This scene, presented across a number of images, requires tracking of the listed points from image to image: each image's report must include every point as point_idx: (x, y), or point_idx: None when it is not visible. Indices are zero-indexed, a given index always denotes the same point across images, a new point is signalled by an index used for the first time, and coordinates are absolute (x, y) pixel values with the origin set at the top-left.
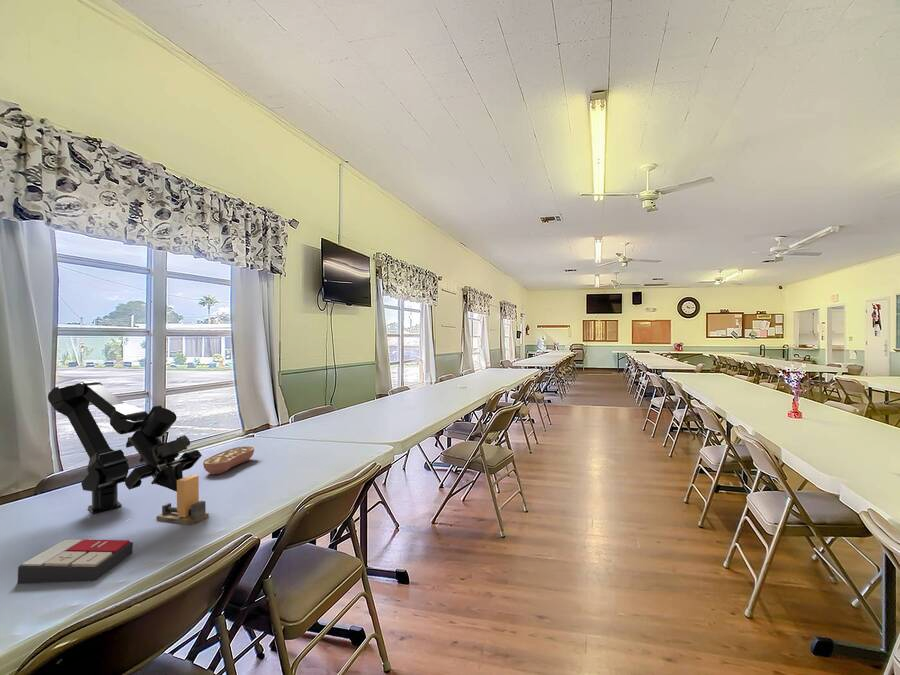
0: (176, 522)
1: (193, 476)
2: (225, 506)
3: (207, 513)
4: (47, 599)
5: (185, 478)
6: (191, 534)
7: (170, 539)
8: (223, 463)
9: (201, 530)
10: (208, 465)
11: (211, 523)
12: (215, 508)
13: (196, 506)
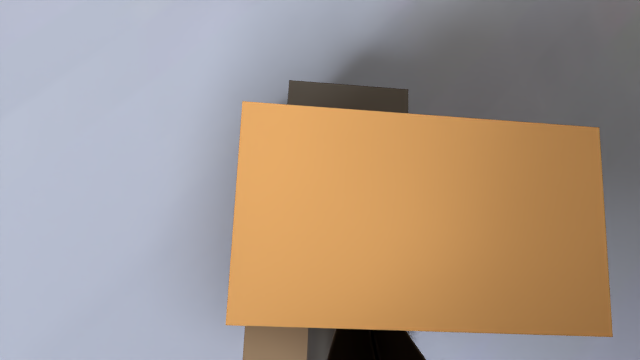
0: None
1: (310, 175)
2: (49, 144)
3: None
4: None
5: (467, 242)
6: (500, 42)
7: (585, 114)
8: None
9: (442, 22)
10: None
11: (343, 32)
12: (100, 195)
13: (392, 91)
